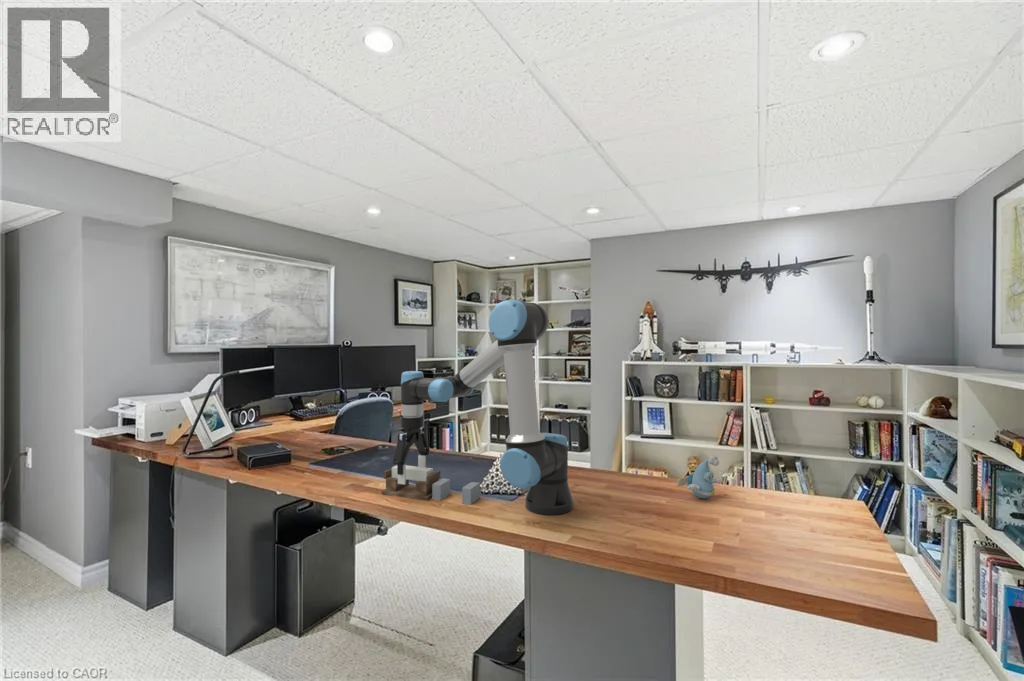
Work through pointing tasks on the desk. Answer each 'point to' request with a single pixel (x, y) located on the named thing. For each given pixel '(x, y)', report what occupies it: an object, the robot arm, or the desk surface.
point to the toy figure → (701, 479)
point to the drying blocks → (468, 492)
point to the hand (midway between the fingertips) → (412, 478)
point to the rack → (410, 486)
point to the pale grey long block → (414, 473)
